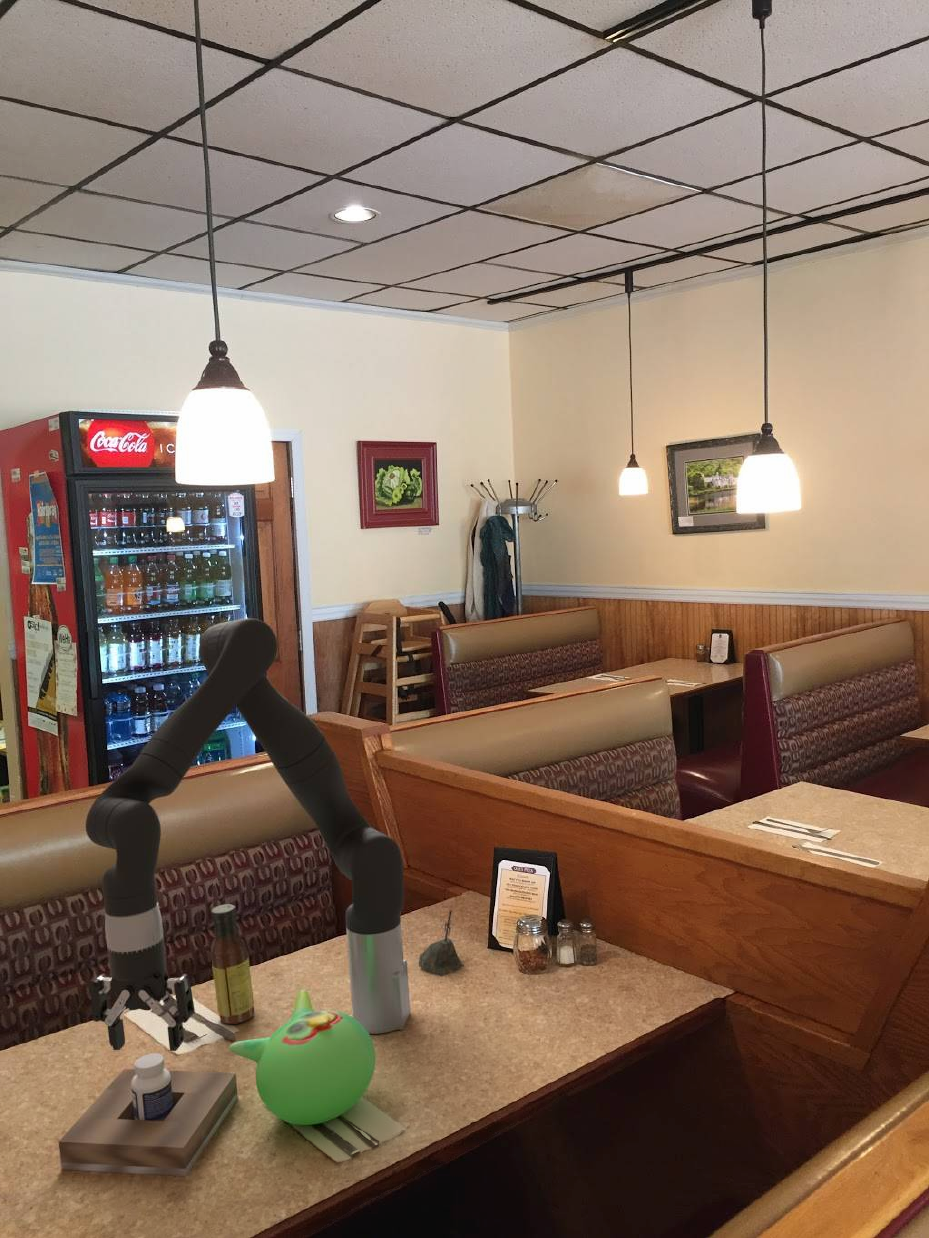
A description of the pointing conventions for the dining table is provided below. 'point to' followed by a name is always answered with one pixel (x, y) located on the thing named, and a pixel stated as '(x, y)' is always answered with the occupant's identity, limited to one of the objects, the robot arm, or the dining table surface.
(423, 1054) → the dining table surface
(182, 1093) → the socket block
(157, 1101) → the pill bottle
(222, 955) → the sauce bottle
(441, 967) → the sword in stone
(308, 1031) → the toy bird
